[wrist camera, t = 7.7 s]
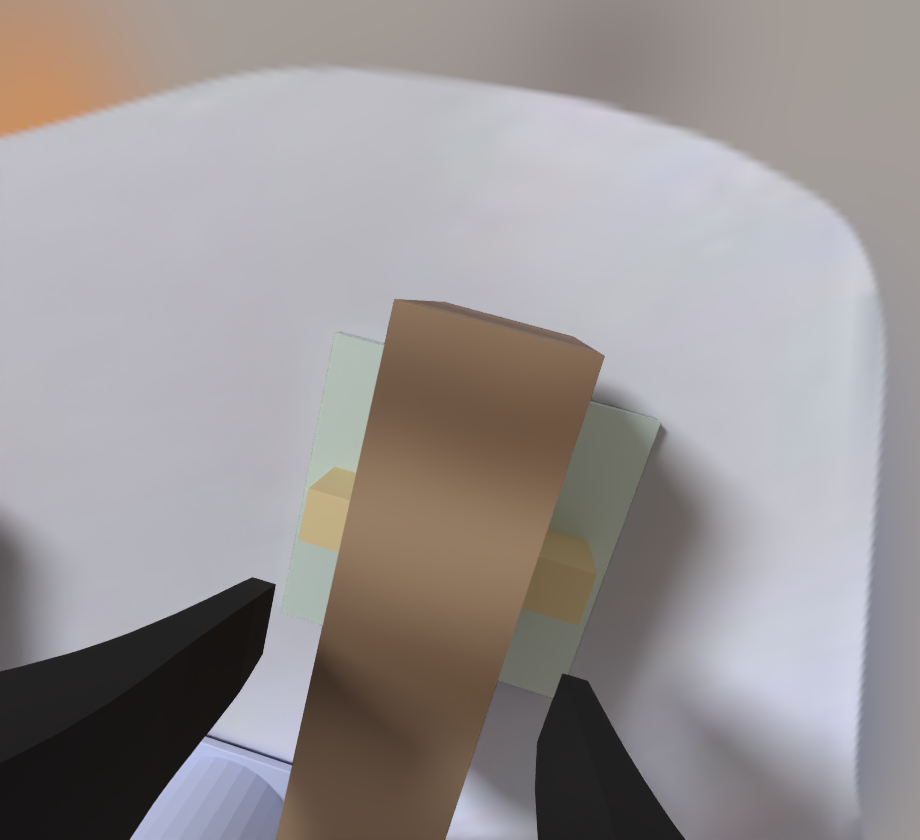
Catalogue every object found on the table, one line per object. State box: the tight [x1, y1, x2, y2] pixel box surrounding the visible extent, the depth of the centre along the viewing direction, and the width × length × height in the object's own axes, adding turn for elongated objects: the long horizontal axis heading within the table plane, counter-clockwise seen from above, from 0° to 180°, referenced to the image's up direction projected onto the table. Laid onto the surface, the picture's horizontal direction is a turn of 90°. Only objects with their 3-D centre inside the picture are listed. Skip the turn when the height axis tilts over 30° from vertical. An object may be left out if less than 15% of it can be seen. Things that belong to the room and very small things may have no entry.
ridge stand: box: [281, 332, 661, 698], centre depth 18 cm, size 12×12×3 cm
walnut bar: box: [276, 299, 605, 840], centre depth 14 cm, size 16×4×6 cm, turn 166°
